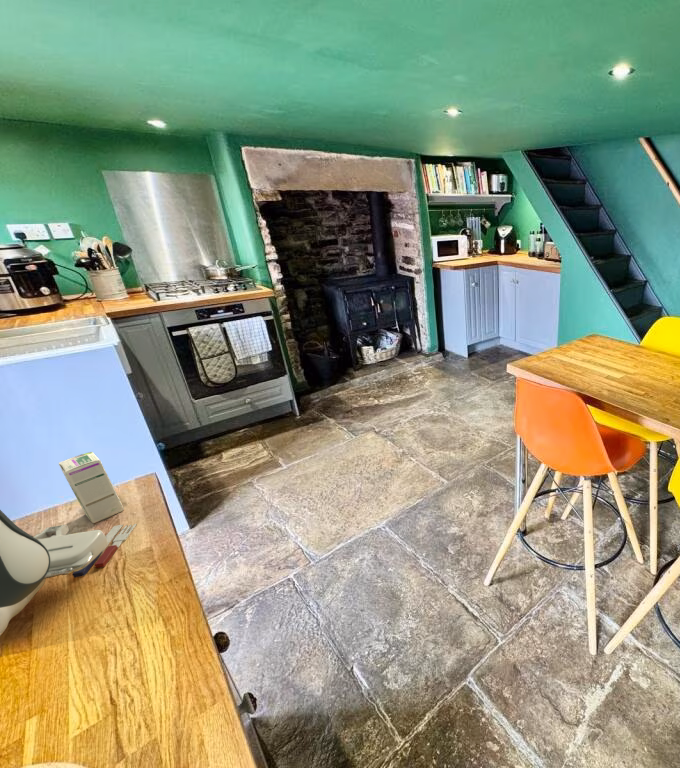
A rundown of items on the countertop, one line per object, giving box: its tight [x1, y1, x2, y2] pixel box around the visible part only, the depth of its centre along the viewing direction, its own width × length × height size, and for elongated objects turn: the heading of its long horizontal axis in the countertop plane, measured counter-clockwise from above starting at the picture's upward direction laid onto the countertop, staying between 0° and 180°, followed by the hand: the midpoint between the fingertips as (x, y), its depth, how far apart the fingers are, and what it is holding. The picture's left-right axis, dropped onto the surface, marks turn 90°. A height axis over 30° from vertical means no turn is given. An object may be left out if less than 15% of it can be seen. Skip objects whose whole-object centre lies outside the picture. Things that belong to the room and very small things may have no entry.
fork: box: [93, 523, 137, 569], centre depth 84 cm, size 2×12×1 cm, turn 18°
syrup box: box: [58, 451, 125, 524], centre depth 90 cm, size 6×6×14 cm
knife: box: [71, 524, 124, 579], centre depth 83 cm, size 2×14×1 cm, turn 18°
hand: (58, 528), depth 81 cm, fingers closed
